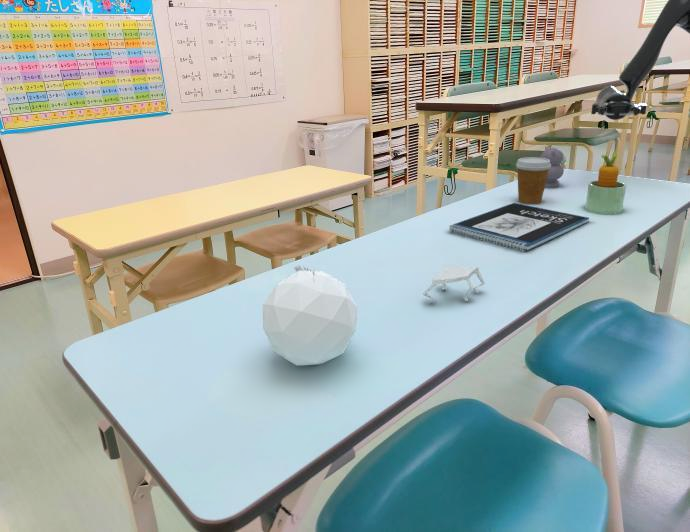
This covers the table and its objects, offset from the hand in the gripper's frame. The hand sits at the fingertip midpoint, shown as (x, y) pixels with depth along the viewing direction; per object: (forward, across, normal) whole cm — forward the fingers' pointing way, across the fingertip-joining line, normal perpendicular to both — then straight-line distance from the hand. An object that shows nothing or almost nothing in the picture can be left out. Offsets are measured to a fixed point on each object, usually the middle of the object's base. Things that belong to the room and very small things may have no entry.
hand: (619, 111), depth 147 cm
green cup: (+18, -2, +24) cm, 30 cm away
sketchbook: (+39, -22, +24) cm, 51 cm away
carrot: (+18, -2, +24) cm, 29 cm away
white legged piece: (+84, -30, +24) cm, 93 cm away
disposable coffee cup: (+14, -21, +24) cm, 35 cm away
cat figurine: (-6, -17, +24) cm, 30 cm away
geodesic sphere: (+111, -45, +24) cm, 122 cm away
